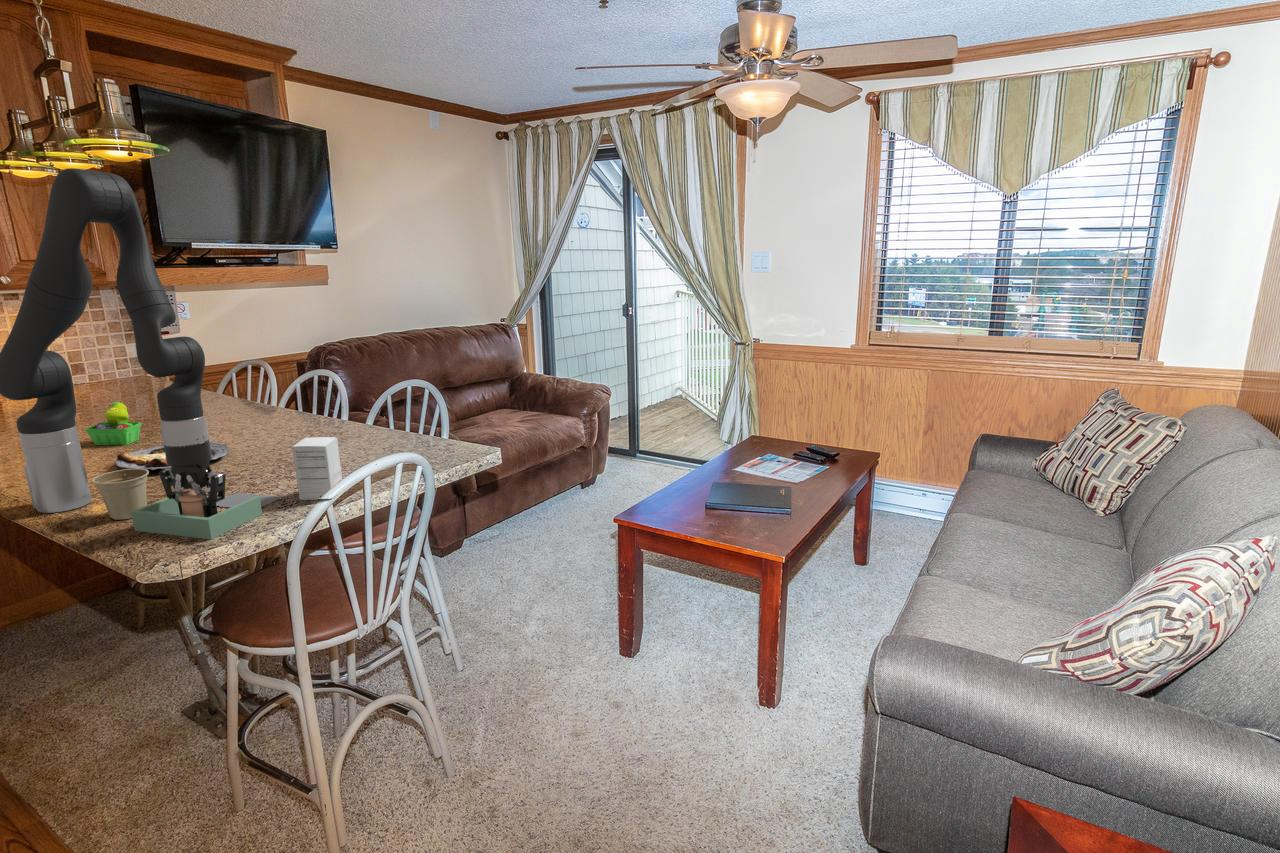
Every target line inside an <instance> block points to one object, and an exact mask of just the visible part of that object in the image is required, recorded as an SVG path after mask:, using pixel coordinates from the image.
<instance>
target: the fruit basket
mask: <svg viewBox="0 0 1280 853" xmlns="http://www.w3.org/2000/svg"><path fill="white" fill-rule="evenodd" d="M104 417H105V418H106V421H102V422H98V423H97V424H95V425H91V426H90V427H89V426H88V427H87V428H85V429H84V430H85V432H86V433H87V434H88V435H89V437H90V439H91V441H92V442H93V444H94V445H95V446H127V445H129V444H132V443H135V442H137V441H139V439H140V433H141V432H140V431H141V426H142V422H141V421H138V422H136V421H133V422H132V421H130V422H129V417H130V416H129V413H128V408H127V406H126V405H125V404H124V402H122V401H121V402H120V401H114V402H112V404H111V405H110V407H109V408H108V409H107V410H106V411H105V413H104Z"/></svg>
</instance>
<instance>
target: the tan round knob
mask: <svg viewBox="0 0 1280 853" xmlns="http://www.w3.org/2000/svg"><path fill="white" fill-rule="evenodd" d="M206 495H207V497H208V498H210V495H209V494H208V493H206ZM178 499H179V501H180V502H181V506H182V511H183V515H188V516H198V517H205V516H204V510H203V505H204V504H203V502H202V498H200V496H197V495H196V493H195V491H194V490H192V491H191V492H186V493H183V495H181V496H179V497H178Z"/></svg>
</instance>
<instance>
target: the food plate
mask: <svg viewBox="0 0 1280 853" xmlns="http://www.w3.org/2000/svg"><path fill="white" fill-rule="evenodd" d="M209 442H210V449H211V455H212V458H211V460H210V461H213V460H217V459H219V458H221V457H224V456H226V455H227V454H228V452H229V451H230V449H231V448H230V447H229V445H227V444H225V443H222V442H213V441H209ZM116 457H117V458H116V460H114V462H113V463H114V465H115V466H116V467H117V468H118V469H121V470H125V469H146V470H148V471H149V472H150V471H156V470H157V469H161V470H165V469H168V468H171V466H169V465H168V464H167V461H166V455H165V450H164V444H159V445H155V446H152V447H147V448H143V449H142V450H136V451H132V452H129V453H127V452H122V453H119V454H117V456H116Z"/></svg>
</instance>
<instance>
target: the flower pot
mask: <svg viewBox="0 0 1280 853" xmlns="http://www.w3.org/2000/svg"><path fill="white" fill-rule="evenodd" d="M148 470H149V469H148ZM148 470H146V469H119V470H114V471H109V472H106V473H102V474H99V475H97V476H95V477H93V478H92V479H91V482H92V484H93V485H95V487H96V489H97V490H98V491H99V493H100V495H101V498H102V500H103V503H104V505H105V507H106V510H107V512H108V514H109V517H110V519H113V520H115V521H117V520H118V521H119V520H129V519H132V514H131V512H132V511H134V510H137V509H140V508H142V507H145V506H147V503H148V502H147V481H148V475H149V473H150V470H149V471H148Z"/></svg>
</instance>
